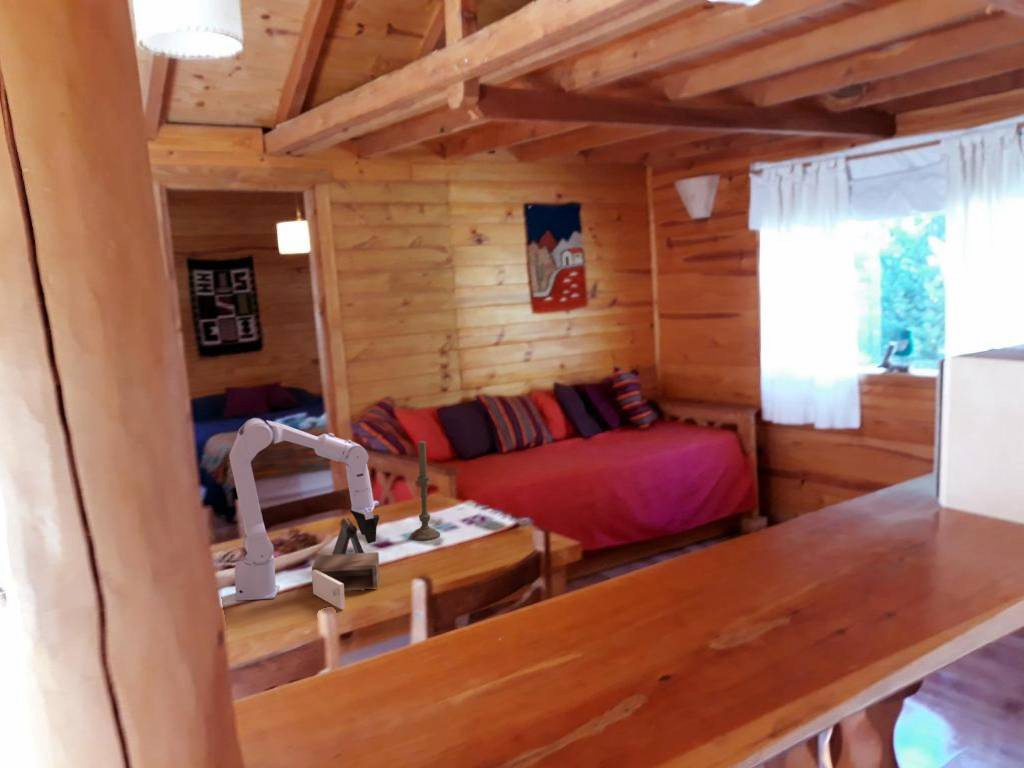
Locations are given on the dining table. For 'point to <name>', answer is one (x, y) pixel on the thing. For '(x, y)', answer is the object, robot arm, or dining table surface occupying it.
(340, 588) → the door
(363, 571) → the cabinet
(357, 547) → the dark grey a-frame stand
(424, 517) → the candlestick holder
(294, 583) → the dining table surface
